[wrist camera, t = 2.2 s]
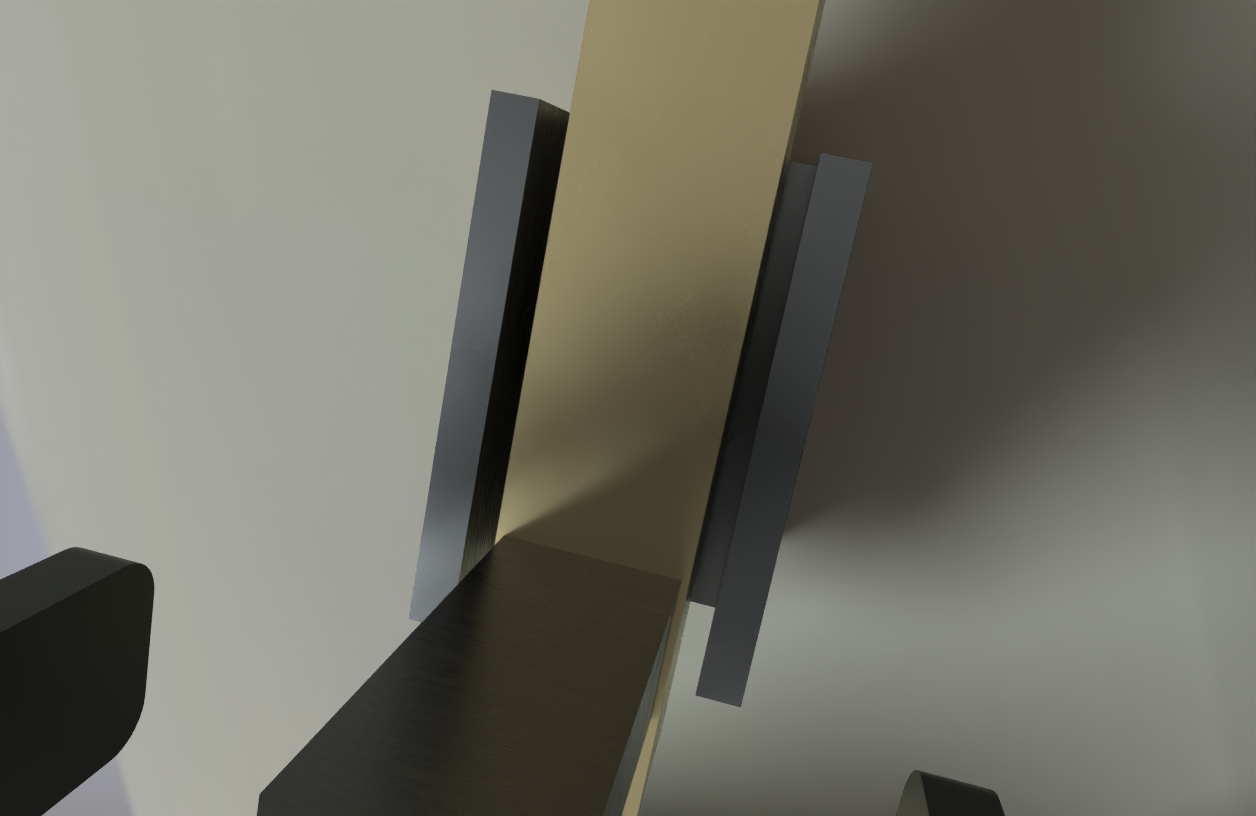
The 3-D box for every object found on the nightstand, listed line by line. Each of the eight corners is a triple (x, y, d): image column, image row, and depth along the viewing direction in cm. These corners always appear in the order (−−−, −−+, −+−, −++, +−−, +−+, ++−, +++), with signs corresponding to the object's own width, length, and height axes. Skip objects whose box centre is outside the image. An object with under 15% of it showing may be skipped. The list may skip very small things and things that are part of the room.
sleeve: (761, 544, 19) (741, 707, 13) (535, 489, 20) (409, 618, 13) (847, 182, 18) (872, 162, 11) (600, 135, 18) (491, 90, 12)
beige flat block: (663, 724, 16) (508, 1280, 8) (509, 682, 16) (200, 1170, 8) (840, -67, 13) (903, -547, 5) (653, -97, 14) (415, -592, 5)
